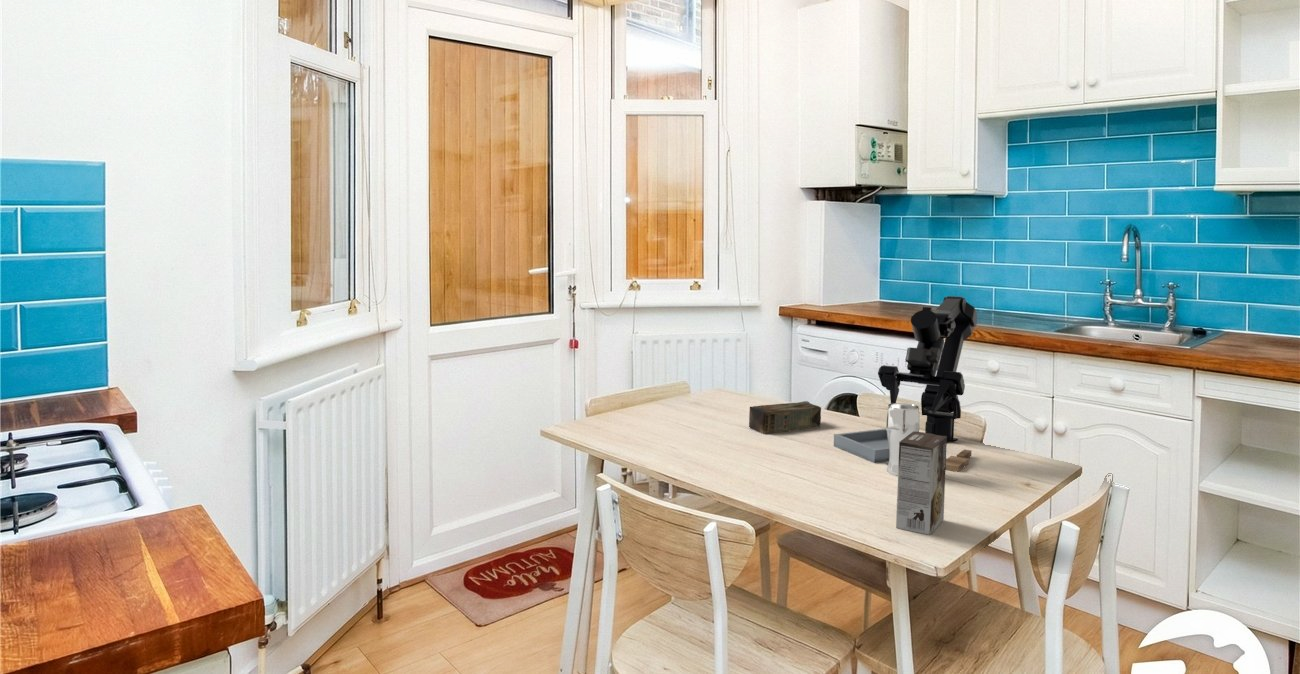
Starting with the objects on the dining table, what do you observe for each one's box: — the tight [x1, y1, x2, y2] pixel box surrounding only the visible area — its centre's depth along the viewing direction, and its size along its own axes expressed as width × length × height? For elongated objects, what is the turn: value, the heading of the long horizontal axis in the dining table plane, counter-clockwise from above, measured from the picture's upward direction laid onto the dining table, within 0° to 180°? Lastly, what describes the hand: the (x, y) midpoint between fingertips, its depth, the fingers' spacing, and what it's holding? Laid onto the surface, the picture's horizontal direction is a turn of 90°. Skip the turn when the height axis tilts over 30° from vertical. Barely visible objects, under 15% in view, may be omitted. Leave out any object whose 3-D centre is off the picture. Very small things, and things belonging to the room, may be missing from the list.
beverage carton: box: [748, 400, 822, 435], centre depth 217 cm, size 8×19×7 cm, turn 115°
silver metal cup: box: [885, 402, 921, 476], centre depth 175 cm, size 7×7×15 cm
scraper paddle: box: [946, 448, 972, 473], centre depth 183 cm, size 14×4×2 cm, turn 142°
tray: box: [833, 428, 889, 464], centre depth 193 cm, size 16×16×3 cm
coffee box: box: [895, 431, 948, 536], centre depth 144 cm, size 9×6×16 cm
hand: (912, 409), depth 180 cm, fingers open, 9 cm apart
